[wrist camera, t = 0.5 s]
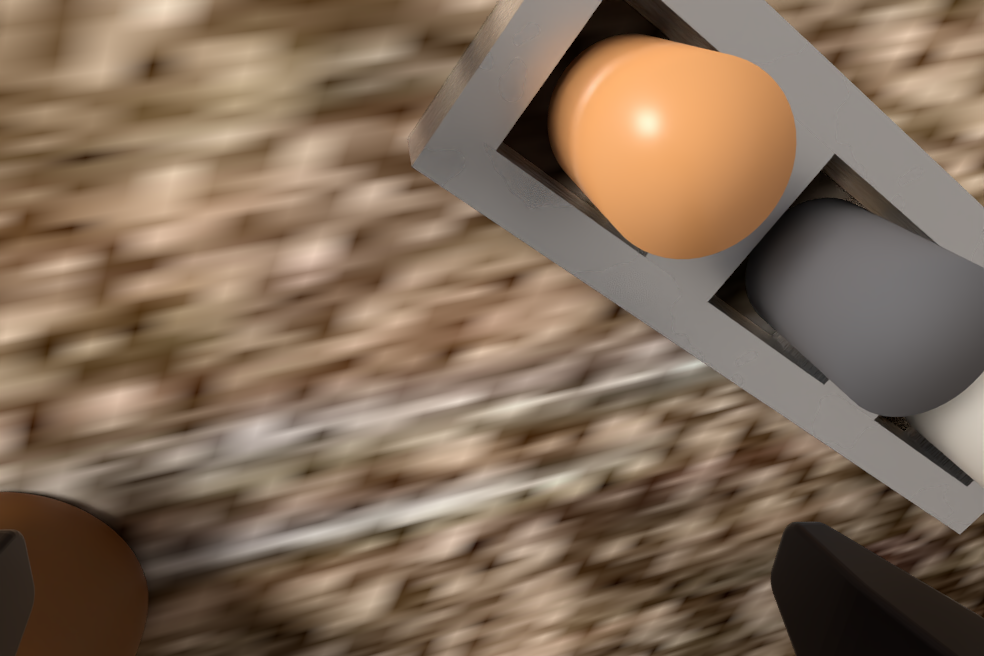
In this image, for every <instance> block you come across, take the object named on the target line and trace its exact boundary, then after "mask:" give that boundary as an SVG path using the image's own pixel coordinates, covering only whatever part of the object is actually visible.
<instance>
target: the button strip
mask: <svg viewBox="0 0 984 656" xmlns="http://www.w3.org/2000/svg"><path fill="white" fill-rule="evenodd" d="M601 1H602V0H500V1H499V2H498V4H497V5H496V7H495V8H494V10H493V11H492V13H491V14H490V16H489V17H488V19H487V20H486V22H485V23H484V25H483V26H482V28H481V29H480V31H479V32H478V34H477V35H476V37H475V38H474V40H473V41H472V43H471V44H470V46H469V47H468V49H467V50H466V52H465V53H464V55H463V56H462V58H461V59H460V61H459V62H458V64H457V65H456V67H455V68H454V70H453V71H452V73H451V74H450V76H449V77H448V79H447V80H446V82H445V83H444V85H443V86H442V88H441V89H440V91H439V92H438V94H437V95H436V97H435V98H434V100H433V101H432V103H431V104H430V106H429V107H428V109H427V110H426V112H425V114H424V115H423V117H422V118H421V120H420V121H419V123H418V124H417V126H416V127H415V129H414V130H413V132H412V133H411V135H410V136H409V138H408V145H409V152H410V159H411V166H412V167H413V168H414V169H416V170H417V171H419V172H420V173H422V174H423V175H425V176H426V177H428V178H429V179H431V180H432V181H434V182H435V183H437V184H438V185H440V186H441V187H443V188H444V189H446V190H447V191H449V192H450V193H452V194H453V195H455V196H456V197H458V198H459V199H461V200H462V201H464V202H465V203H467V204H468V205H470V206H471V207H473V208H474V209H476V210H477V211H479V212H480V213H482V214H483V215H485V216H486V217H487V218H489V219H490V220H492V221H493V222H495V223H496V224H498V225H499V226H501V227H502V228H504V229H505V230H507V231H508V232H510V233H511V234H513V235H514V236H516V237H517V238H519V239H520V240H522V241H523V242H525V243H526V244H528V245H529V246H531V247H532V248H534V249H535V250H537V251H538V252H540V253H541V254H543V255H544V256H546V257H547V258H549V259H550V260H552V261H553V262H555V263H556V264H558V265H559V266H561V267H562V268H563V269H565V270H566V271H568V272H569V273H571V274H572V275H574V276H575V277H577V278H578V279H580V280H581V281H583V282H584V283H586V284H587V285H589V286H590V287H592V288H593V289H595V290H596V291H598V292H599V293H601V294H602V295H604V296H605V297H607V298H608V299H610V300H611V301H613V302H614V303H616V304H617V305H619V306H620V307H622V308H623V309H625V310H626V311H628V312H629V313H631V314H632V315H634V316H635V317H637V318H638V319H639V320H641V321H642V322H644V323H645V324H647V325H648V326H650V327H651V328H653V329H654V330H656V331H657V332H659V333H660V334H662V335H663V336H665V337H666V338H668V339H669V340H671V341H672V342H674V343H675V344H677V345H678V346H680V347H681V348H683V349H684V350H686V351H687V352H689V353H690V354H692V355H693V356H695V357H696V358H698V359H699V360H701V361H702V362H704V363H705V364H707V365H708V366H710V367H711V368H713V369H714V370H715V371H717V372H718V373H720V374H721V375H723V376H724V377H726V378H727V379H729V380H730V381H732V382H733V383H735V384H736V385H738V386H739V387H741V388H742V389H744V390H745V391H747V392H748V393H750V394H751V395H753V396H754V397H756V398H757V399H759V400H760V401H762V402H763V403H765V404H766V405H768V406H769V407H771V408H772V409H774V410H775V411H777V412H778V413H780V414H781V415H783V416H784V417H786V418H787V419H789V420H790V421H791V422H793V423H794V424H796V425H797V426H799V427H800V428H802V429H803V430H805V431H806V432H808V433H809V434H811V435H812V436H814V437H815V438H817V439H818V440H820V441H821V442H823V443H824V444H826V445H827V446H829V447H830V448H832V449H833V450H835V451H836V452H838V453H839V454H841V455H842V456H844V457H845V458H847V459H848V460H850V461H851V462H853V463H854V464H856V465H857V466H859V467H860V468H862V469H863V470H865V471H866V472H867V473H869V474H870V475H872V476H873V477H875V478H876V479H878V480H879V481H881V482H882V483H884V484H885V485H887V486H888V487H890V488H891V489H893V490H894V491H896V492H897V493H899V494H900V495H902V496H903V497H905V498H906V499H908V500H909V501H911V502H912V503H914V504H915V505H917V506H918V507H920V508H921V509H923V510H924V511H926V512H927V513H929V514H930V515H932V516H933V517H935V518H936V519H938V520H939V521H941V522H942V523H943V524H945V525H946V526H948V527H949V528H951V529H952V530H954V531H955V532H957V533H958V534H961V533H962V532H963V531H964V530H965V529H966V528H967V527H969V526H970V525H971V524H972V523H973V522H974V521H975V520H976V519H977V518H978V517H980V516H981V515H982V514H983V513H984V488H983V487H981V486H980V485H979V484H978V483H977V482H976V481H974V480H973V479H972V478H971V477H970V476H969V475H967V474H966V473H965V472H964V471H963V470H962V469H960V468H959V467H958V466H957V465H956V464H955V463H953V462H952V461H951V460H950V459H949V458H948V457H946V456H945V455H944V454H943V453H942V452H941V451H939V450H938V449H937V448H936V447H935V446H934V445H933V444H931V443H930V442H929V441H928V440H927V439H926V438H924V437H923V436H922V435H921V434H920V433H919V432H917V431H916V430H915V429H914V428H913V427H912V426H909V427H908V428H907V429H906V430H905V431H903V430H902V429H900V428H899V427H898V426H896V425H895V424H893V423H892V422H891V421H889V420H888V419H886V418H885V417H884V416H882V415H877V414H874V413H871V412H869V411H866V410H865V409H863V408H861V407H860V406H858V405H857V404H856V403H855V402H854V401H853V400H851V399H850V398H849V397H848V396H847V395H846V394H845V393H844V392H843V391H842V390H840V389H839V388H838V387H837V386H836V385H835V384H834V383H833V382H832V381H831V380H830V379H828V378H827V377H826V376H825V375H824V374H823V373H822V372H821V371H820V370H819V369H817V368H816V367H815V366H814V365H813V364H812V363H811V362H810V361H809V360H808V359H806V358H805V357H804V356H803V355H802V354H801V353H800V352H799V351H798V350H797V349H796V348H794V347H793V346H792V345H791V344H790V343H789V342H788V341H787V340H786V339H785V338H783V337H782V336H781V335H780V334H779V333H778V332H777V331H776V332H775V333H774V334H773V335H772V336H771V335H770V334H768V333H767V332H766V331H764V330H763V329H761V328H760V327H759V326H757V325H756V324H755V323H753V322H752V321H750V320H749V319H748V318H746V317H745V316H743V315H742V314H741V313H739V312H738V311H736V310H735V309H734V308H732V307H731V306H730V305H728V304H727V303H725V302H724V301H723V300H721V299H720V298H718V297H717V296H716V295H714V294H715V293H716V292H717V290H718V289H719V288H720V287H721V286H722V285H723V283H724V282H725V281H726V280H727V279H728V278H729V276H730V275H731V274H732V273H733V272H734V271H735V269H736V268H737V267H738V266H739V265H740V264H741V262H742V261H743V260H744V259H745V258H746V257H747V255H748V254H749V253H750V252H751V251H752V250H753V248H754V247H755V246H756V245H757V244H758V243H759V241H760V240H761V239H762V238H763V237H764V236H765V234H766V233H767V232H768V231H769V230H770V229H771V227H772V226H773V225H774V224H775V223H776V222H777V220H778V219H779V218H780V217H781V216H782V215H783V213H784V212H785V211H786V210H787V209H788V208H789V206H790V205H791V204H792V203H793V202H794V201H795V199H796V198H797V197H798V196H799V195H800V194H801V192H802V191H803V190H804V189H805V188H806V187H807V186H808V184H809V183H810V182H811V181H812V180H813V179H814V177H815V176H816V175H817V174H818V173H819V172H820V170H822V171H823V172H824V173H826V174H827V175H828V176H829V177H830V178H831V179H833V180H834V181H835V182H836V183H837V184H838V185H840V186H841V187H842V188H843V189H844V190H845V191H847V192H848V193H849V194H850V195H851V196H852V197H853V198H855V199H856V200H857V201H858V202H859V203H860V204H862V205H863V206H864V207H865V208H866V209H867V210H869V211H870V212H872V213H874V214H876V215H878V216H880V217H882V218H884V219H886V220H888V221H890V222H892V223H894V224H896V225H898V226H900V227H902V228H904V229H906V230H908V231H910V232H912V233H914V234H916V235H918V236H920V237H922V238H925V239H927V240H929V241H931V242H933V243H935V244H937V245H939V246H941V247H943V248H945V249H947V250H949V251H951V252H953V253H955V254H957V255H959V256H961V257H963V258H965V259H967V260H969V261H971V262H973V263H975V264H977V265H979V266H981V267H983V268H984V207H983V206H982V205H981V204H980V203H979V202H978V201H977V200H976V199H975V198H973V197H972V196H971V195H970V194H969V193H968V192H967V191H966V190H965V189H964V188H963V187H962V186H961V185H960V184H959V183H958V182H957V181H955V180H954V179H953V178H952V177H951V176H950V175H949V174H948V173H947V172H946V171H945V170H944V169H943V168H942V167H941V166H940V165H939V164H937V163H936V162H935V161H934V160H933V159H932V158H931V157H930V156H929V155H928V154H927V153H926V152H925V151H924V150H923V149H922V148H920V147H919V146H918V145H917V144H916V143H915V142H914V141H913V140H912V139H911V138H910V137H909V136H908V135H907V134H906V133H905V132H904V131H902V130H901V129H900V128H899V127H898V126H897V125H896V124H895V123H894V122H893V121H892V120H891V119H890V118H889V117H888V116H887V115H886V114H884V113H883V112H882V111H881V110H880V109H879V108H878V107H877V106H876V105H875V104H874V103H873V102H872V101H871V100H870V99H869V98H868V97H866V96H865V95H864V94H863V93H862V92H861V91H860V90H859V89H858V88H857V87H856V86H855V85H854V84H853V83H852V82H851V81H849V80H848V79H847V78H846V77H845V76H844V75H843V74H842V73H841V72H840V71H839V70H838V69H837V68H836V67H835V66H834V65H833V64H831V63H830V62H829V61H828V60H827V59H826V58H825V57H824V56H823V55H822V54H821V53H820V52H819V51H818V50H817V49H816V48H815V47H813V46H812V45H811V44H810V43H809V42H808V41H807V40H806V39H805V38H804V37H803V36H802V35H801V34H800V33H799V32H798V31H797V30H795V29H794V28H793V27H792V26H791V25H790V24H789V23H788V22H787V21H786V20H785V19H784V18H783V17H782V16H781V15H780V14H779V13H777V12H776V11H775V10H774V9H773V8H772V7H771V6H770V5H769V4H768V3H767V2H766V1H765V0H625V1H626V2H627V3H628V4H630V5H631V6H632V7H633V8H634V9H635V10H637V11H638V12H639V13H640V14H641V15H642V16H644V17H645V18H646V19H647V20H648V21H649V22H651V23H652V24H653V25H654V26H655V27H656V28H657V29H659V30H660V31H661V32H662V33H663V34H664V35H666V36H667V37H668V38H669V39H670V40H671V41H674V42H679V43H683V44H687V45H691V46H695V47H700V48H704V49H708V50H712V51H716V52H721V53H725V54H729V55H733V56H737V57H739V58H742V59H745V60H748V61H749V62H751V63H753V64H755V65H757V66H759V67H760V68H761V69H762V70H764V71H765V72H766V73H768V74H769V75H770V76H771V77H772V78H773V79H774V80H775V82H776V83H777V84H778V85H779V87H780V88H781V90H782V91H783V92H784V94H785V96H786V98H787V100H788V102H789V104H790V107H791V110H792V113H793V116H794V122H795V127H796V143H797V144H796V155H795V161H794V166H793V170H792V173H791V176H790V179H789V182H788V184H787V187H786V189H785V191H784V193H783V195H782V197H781V198H780V200H779V202H778V203H777V205H776V207H775V208H774V209H773V211H772V212H771V213H770V215H769V216H768V217H767V218H766V219H765V220H764V222H763V223H762V224H761V225H760V226H759V227H758V228H757V229H755V230H754V231H753V232H752V233H751V234H750V235H748V236H747V237H746V238H744V239H743V240H741V241H740V242H738V243H737V244H735V245H733V246H731V247H729V248H727V249H725V250H723V251H720V252H718V253H715V254H713V255H709V256H705V257H701V258H694V259H671V258H664V257H660V256H656V255H653V254H650V253H648V252H646V251H643V250H641V249H640V248H638V247H636V246H635V245H633V244H632V243H630V242H629V241H628V240H627V239H626V238H624V237H623V236H622V235H621V233H620V232H619V231H618V230H617V229H616V228H615V227H614V226H613V225H612V224H611V222H610V221H609V220H608V219H607V218H606V217H605V216H604V215H603V214H602V213H600V212H599V211H598V210H596V209H595V208H593V207H592V206H591V205H589V204H588V203H587V202H585V201H584V200H582V199H581V198H580V197H578V196H577V195H575V194H574V193H573V192H571V191H570V190H568V189H567V188H566V187H564V186H563V185H562V184H560V183H559V182H557V181H556V180H555V179H553V178H552V177H550V176H549V175H548V174H546V173H545V172H543V171H542V170H541V169H539V168H538V167H537V166H535V165H534V164H532V163H531V162H530V161H528V160H527V159H525V158H524V157H523V156H521V155H520V154H519V153H517V152H516V151H514V150H513V149H512V148H510V147H509V146H507V145H506V144H505V143H503V142H502V141H503V140H504V138H505V137H506V136H507V134H508V133H509V131H510V130H511V129H512V127H513V126H514V124H515V123H516V122H517V120H518V119H519V117H520V116H521V114H522V113H523V112H524V110H525V109H526V107H527V106H528V105H529V103H530V102H531V100H532V99H533V97H534V96H535V95H536V93H537V92H538V90H539V89H540V88H541V86H542V85H543V83H544V82H545V80H546V79H547V78H548V76H549V75H550V73H551V72H552V71H553V69H554V68H555V66H556V65H557V64H558V62H559V61H560V59H561V58H562V56H563V55H564V54H565V52H566V51H567V49H568V48H569V47H570V45H571V44H572V42H573V41H574V39H575V38H576V37H577V35H578V34H579V32H580V31H581V30H582V28H583V27H584V25H585V24H586V23H587V21H588V20H589V18H590V17H591V15H592V14H593V13H594V11H595V10H596V8H597V7H598V6H599V4H600V3H601Z"/></svg>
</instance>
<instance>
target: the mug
mask: <svg viewBox="0 0 984 656" xmlns="http://www.w3.org/2000/svg"><path fill="white" fill-rule="evenodd" d="M4 529H13V530H17V531H19V532H20V533H21V534H22V535H23V537H24V539H25V542H26V547H27V552H28V557H29V562H30V566H31V571H32V576H33V581H34V587H35V597H34V604H33V608H32V611H31V614H30V617H29V620H28V622H27V625H26V628H25V631H24V634H23V636H22V639H21V642H20V645H19V648H18V650H17V653H16V656H135V655H136V653H137V650H138V647H139V644H140V641H141V638H142V635H143V631H144V628H145V624H146V618H147V613H148V588H147V582H146V578H145V576H144V573H143V570H142V568H141V565H140V563H139V562H138V560H137V558H136V556H135V554H134V553H133V551H132V550H131V549H130V547H129V546H128V545H127V543H126V542H125V541H124V540H123V539H122V538H121V537H120V536H119V535H118V534H117V533H116V532H115V531H114V530H113V529H111V528H110V527H109V526H108V525H106V524H105V523H104V522H102V521H101V520H99V519H97V518H96V517H94V516H93V515H91V514H89V513H87V512H85V511H83V510H81V509H79V508H77V507H75V506H72V505H70V504H67V503H64V502H62V501H59V500H55V499H51V498H48V497H44V496H39V495H33V494H27V493H17V492H0V530H4Z"/></svg>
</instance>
